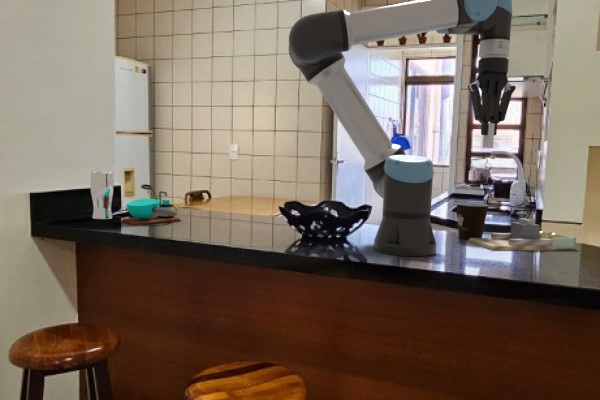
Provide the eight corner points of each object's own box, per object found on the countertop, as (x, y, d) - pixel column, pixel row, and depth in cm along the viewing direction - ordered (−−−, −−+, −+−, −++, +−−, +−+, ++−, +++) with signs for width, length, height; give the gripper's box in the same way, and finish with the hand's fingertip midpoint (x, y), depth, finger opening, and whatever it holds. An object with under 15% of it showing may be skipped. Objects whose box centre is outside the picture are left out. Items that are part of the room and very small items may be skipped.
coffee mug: (487, 242, 148) (490, 206, 147) (456, 240, 150) (458, 205, 149) (482, 235, 159) (484, 202, 158) (452, 233, 161) (454, 201, 160)
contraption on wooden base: (191, 223, 168) (191, 176, 166) (141, 229, 154) (141, 177, 153) (164, 218, 177) (164, 173, 175) (115, 223, 163) (115, 174, 162)
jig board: (492, 251, 135) (493, 240, 135) (468, 242, 147) (469, 232, 147) (554, 250, 139) (555, 240, 138) (526, 241, 150) (527, 232, 150)
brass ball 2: (563, 245, 144) (557, 243, 142) (551, 245, 146) (545, 243, 144) (563, 234, 144) (558, 232, 142) (551, 234, 147) (546, 232, 145)
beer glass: (89, 220, 167) (88, 173, 165) (93, 217, 174) (92, 171, 172) (112, 220, 168) (111, 173, 167) (115, 217, 175) (114, 172, 174)
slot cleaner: (521, 243, 140) (523, 220, 140) (509, 239, 146) (511, 217, 145) (538, 243, 141) (540, 220, 141) (526, 239, 147) (527, 217, 146)
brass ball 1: (538, 244, 146) (531, 235, 147) (542, 245, 148) (536, 235, 149) (548, 238, 144) (541, 228, 146) (552, 238, 146) (545, 229, 148)
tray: (552, 249, 140) (552, 238, 139) (528, 242, 150) (529, 232, 149) (575, 249, 141) (576, 238, 141) (550, 242, 151) (551, 231, 151)
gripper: (478, 54, 134) (472, 147, 137) (524, 57, 137) (517, 148, 139) (463, 59, 142) (458, 147, 144) (507, 61, 144) (501, 148, 147)
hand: (487, 147), depth 142 cm, fingers closed
